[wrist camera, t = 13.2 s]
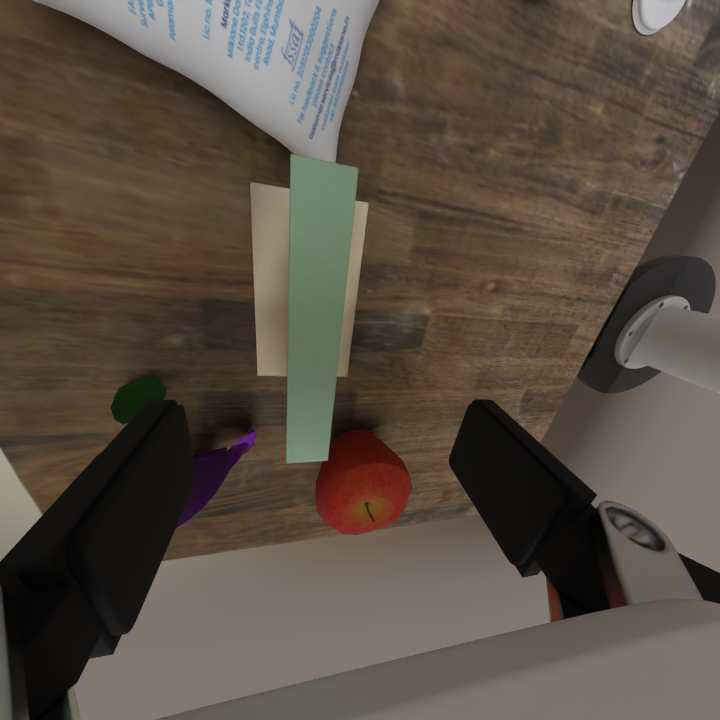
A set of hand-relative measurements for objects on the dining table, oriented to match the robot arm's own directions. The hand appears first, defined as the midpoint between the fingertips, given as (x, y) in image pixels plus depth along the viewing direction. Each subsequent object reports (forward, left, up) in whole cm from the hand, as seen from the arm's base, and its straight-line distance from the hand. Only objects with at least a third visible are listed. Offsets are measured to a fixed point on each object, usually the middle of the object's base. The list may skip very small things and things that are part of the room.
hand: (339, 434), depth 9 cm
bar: (0, 0, -11) cm, 11 cm away
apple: (-7, +20, -21) cm, 30 cm away
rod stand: (0, 0, -21) cm, 21 cm away
